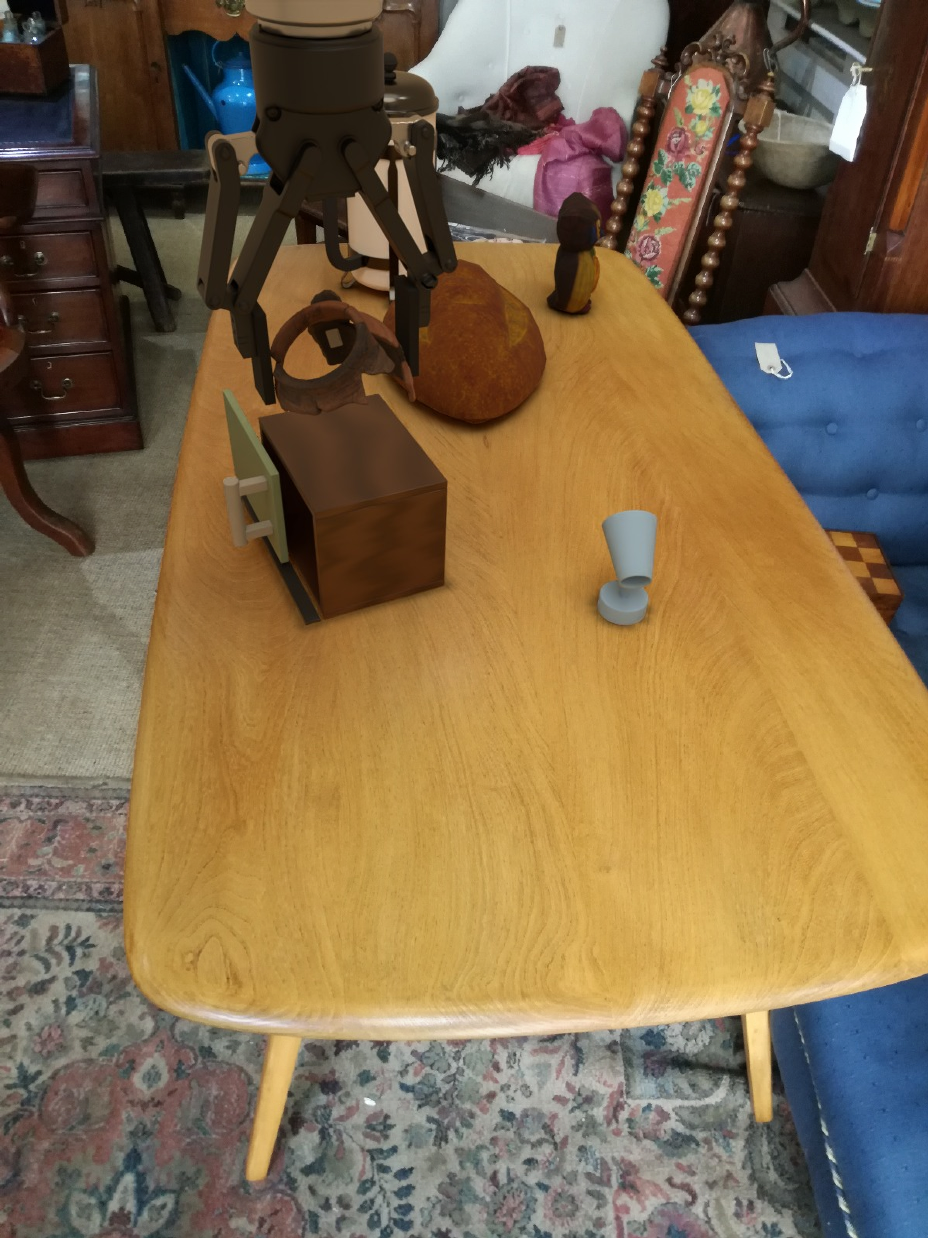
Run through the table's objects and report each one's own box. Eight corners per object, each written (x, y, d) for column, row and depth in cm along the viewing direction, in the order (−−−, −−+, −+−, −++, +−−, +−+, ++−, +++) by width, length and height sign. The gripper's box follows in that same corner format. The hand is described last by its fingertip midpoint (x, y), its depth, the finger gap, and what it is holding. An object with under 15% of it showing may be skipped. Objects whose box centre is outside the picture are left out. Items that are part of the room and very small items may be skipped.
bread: (376, 434, 107) (373, 333, 99) (381, 309, 131) (379, 219, 123) (557, 436, 108) (570, 336, 100) (530, 312, 132) (538, 223, 124)
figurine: (593, 325, 130) (609, 215, 120) (543, 321, 130) (555, 210, 120) (595, 296, 137) (610, 189, 127) (548, 291, 137) (559, 185, 127)
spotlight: (589, 581, 90) (599, 631, 85) (604, 495, 83) (616, 544, 78) (640, 581, 90) (653, 630, 85) (658, 496, 83) (675, 544, 78)
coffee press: (337, 264, 142) (324, 35, 121) (442, 266, 143) (447, 40, 122) (328, 314, 129) (312, 69, 109) (443, 317, 130) (449, 74, 110)
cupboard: (305, 625, 84) (294, 517, 75) (241, 498, 97) (225, 395, 89) (444, 585, 88) (448, 480, 80) (364, 469, 102) (360, 369, 94)
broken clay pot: (441, 425, 66) (397, 353, 59) (326, 486, 68) (270, 423, 61) (391, 313, 72) (345, 235, 65) (286, 372, 73) (230, 301, 66)
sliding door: (241, 574, 87) (227, 485, 80) (199, 482, 97) (183, 396, 90) (289, 561, 88) (279, 473, 82) (242, 473, 99) (230, 388, 92)
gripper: (119, 49, 46) (193, 439, 61) (526, 24, 53) (501, 377, 68) (94, 17, 51) (168, 385, 66) (470, -2, 58) (458, 333, 73)
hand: (338, 381), depth 67 cm, fingers closed on broken clay pot, 10 cm apart
